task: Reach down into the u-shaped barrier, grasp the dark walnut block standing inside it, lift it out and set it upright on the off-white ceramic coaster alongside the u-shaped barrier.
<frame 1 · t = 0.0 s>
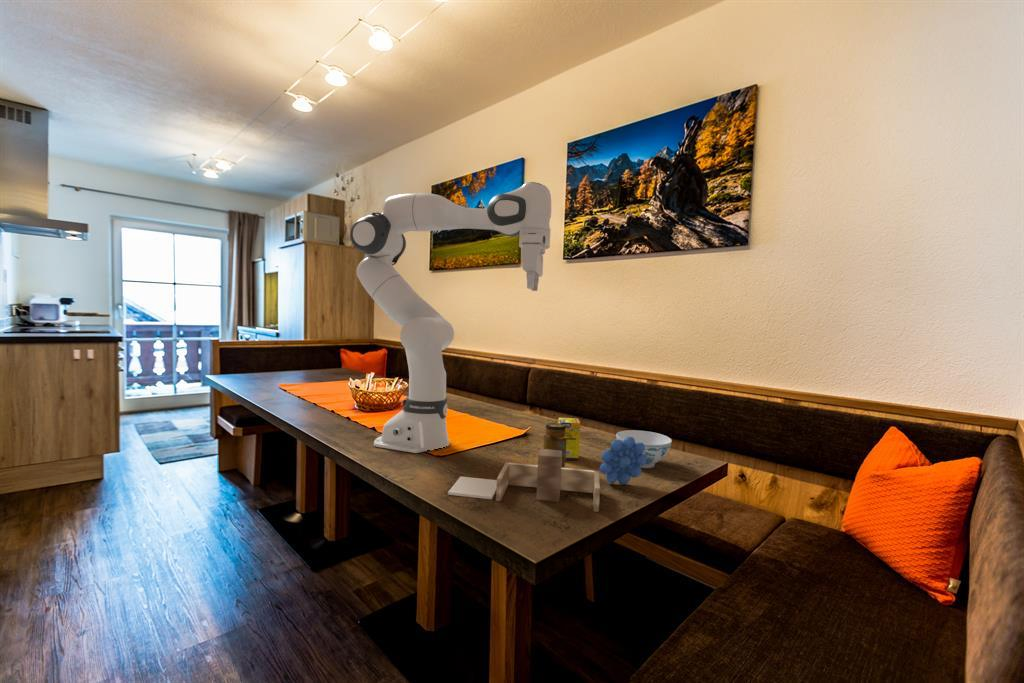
hand: (532, 289, 130), 48 cm above the table, fingers open, 8 cm apart
condiment: (554, 470, 120), on the table
u-shaped barrier: (548, 496, 102), on the table
coaster: (475, 488, 105), on the table
walnut block: (549, 474, 102), in the u-shaped barrier
chinaware: (642, 464, 128), on the table
supplement box: (567, 457, 131), on the table
grapes: (621, 483, 112), on the table
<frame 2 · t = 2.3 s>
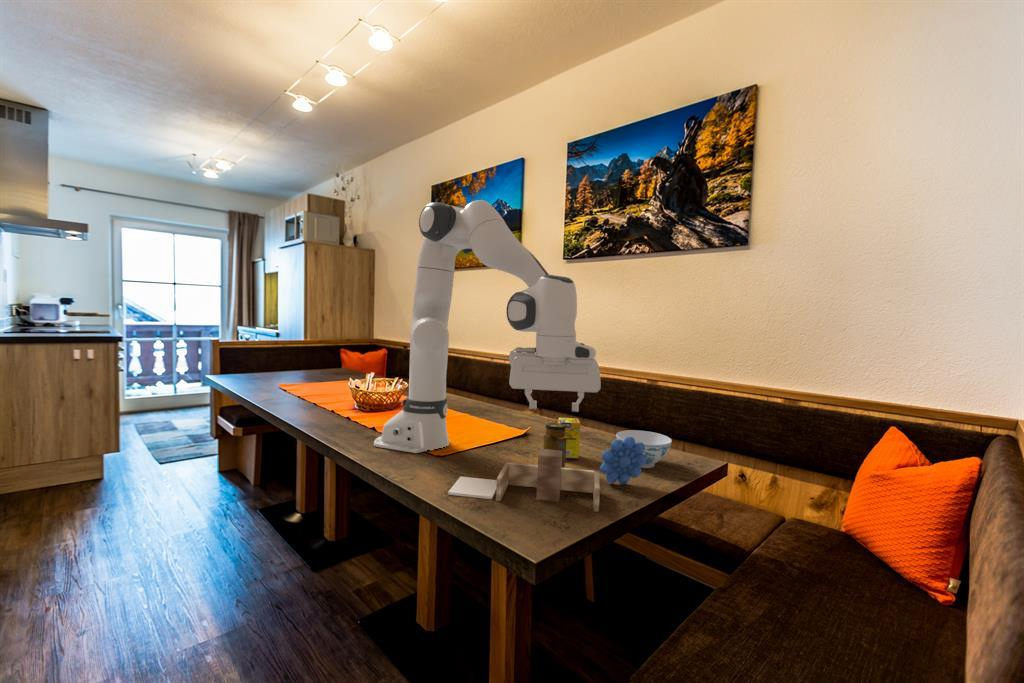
hand: (553, 410, 101), 20 cm above the table, fingers open, 8 cm apart
nothing on the table moved.
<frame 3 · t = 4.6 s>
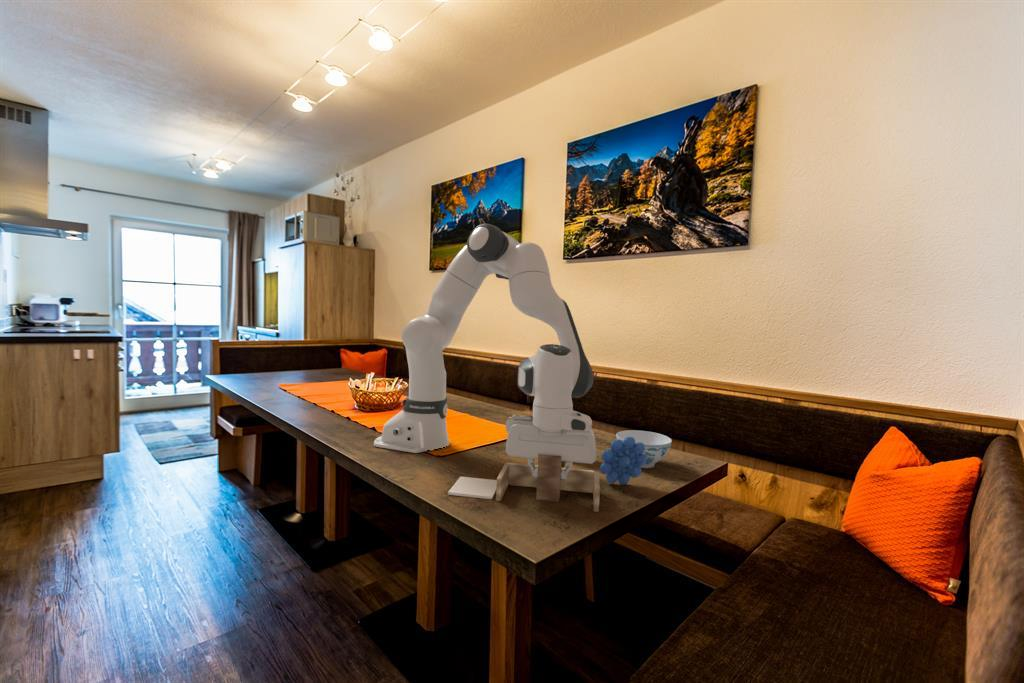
hand: (549, 478, 102), 4 cm above the table, fingers closed on walnut block, 5 cm apart
walnut block: (549, 474, 102), in the u-shaped barrier, touching gripper
everything else where it was.
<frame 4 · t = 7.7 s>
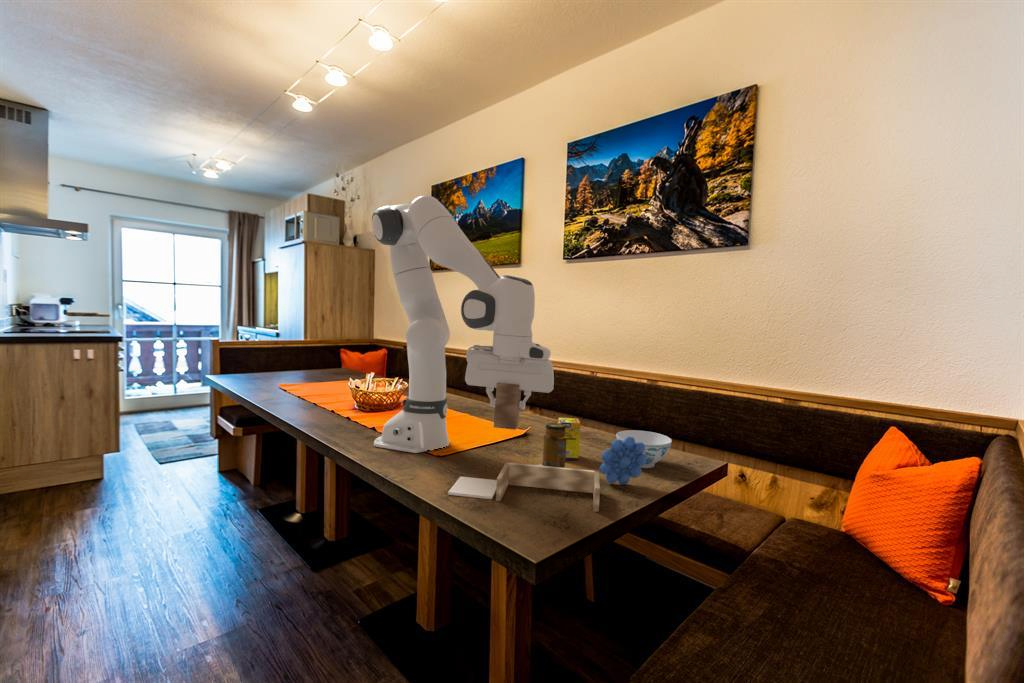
hand: (507, 408, 103), 19 cm above the table, fingers closed on walnut block, 5 cm apart
walnut block: (507, 404, 103), point 20 cm above the table, touching gripper
everything else where it was.
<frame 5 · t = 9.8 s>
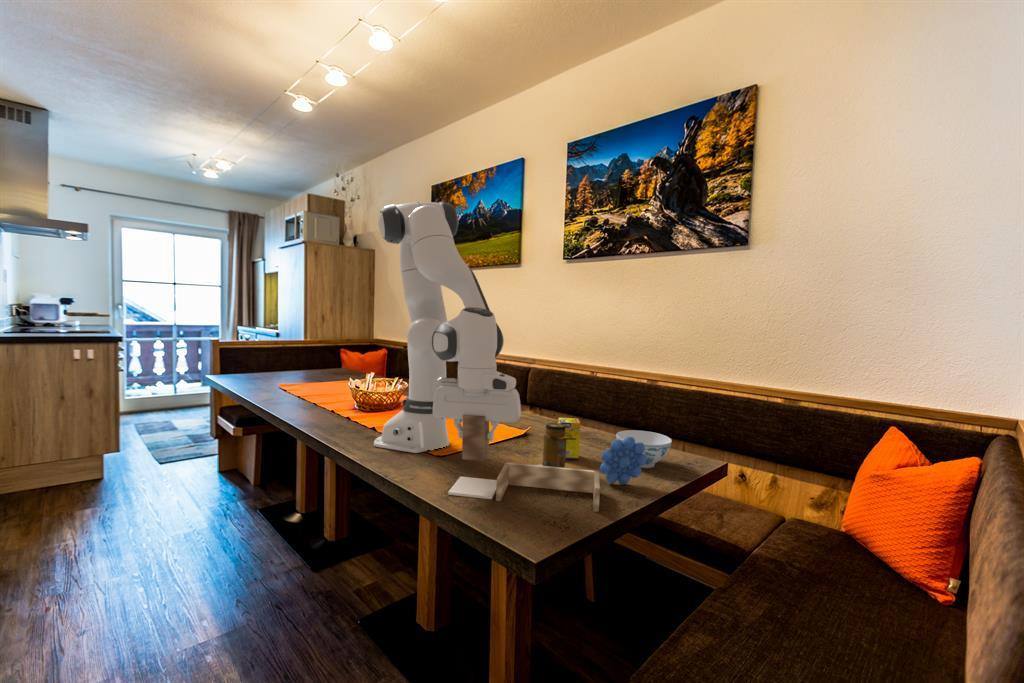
hand: (476, 438, 104), 12 cm above the table, fingers closed on walnut block, 5 cm apart
walnut block: (476, 435, 104), point 13 cm above the table, touching gripper
everything else where it was.
when the fingers open (6 cm above the table, at t = 11.3 s): walnut block drops 1 cm, resting on coaster.
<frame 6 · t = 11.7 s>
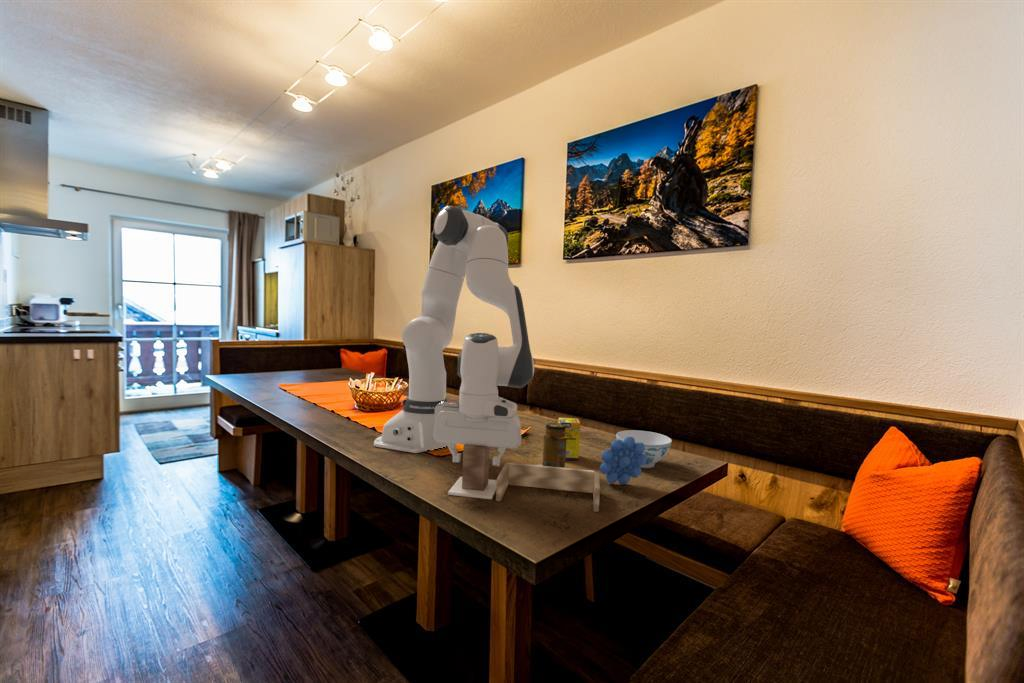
hand: (476, 463, 104), 6 cm above the table, fingers open, 8 cm apart
walnut block: (476, 464, 104), on the coaster, point 6 cm above the table
everything else where it was.
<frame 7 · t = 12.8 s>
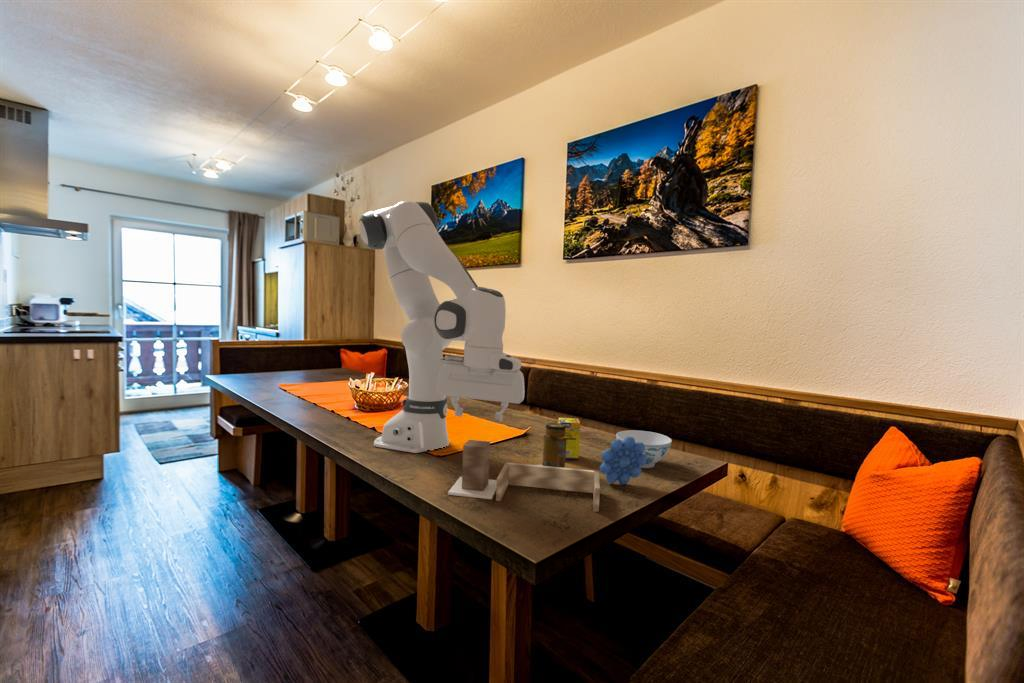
hand: (478, 418, 104), 16 cm above the table, fingers open, 8 cm apart
nothing on the table moved.
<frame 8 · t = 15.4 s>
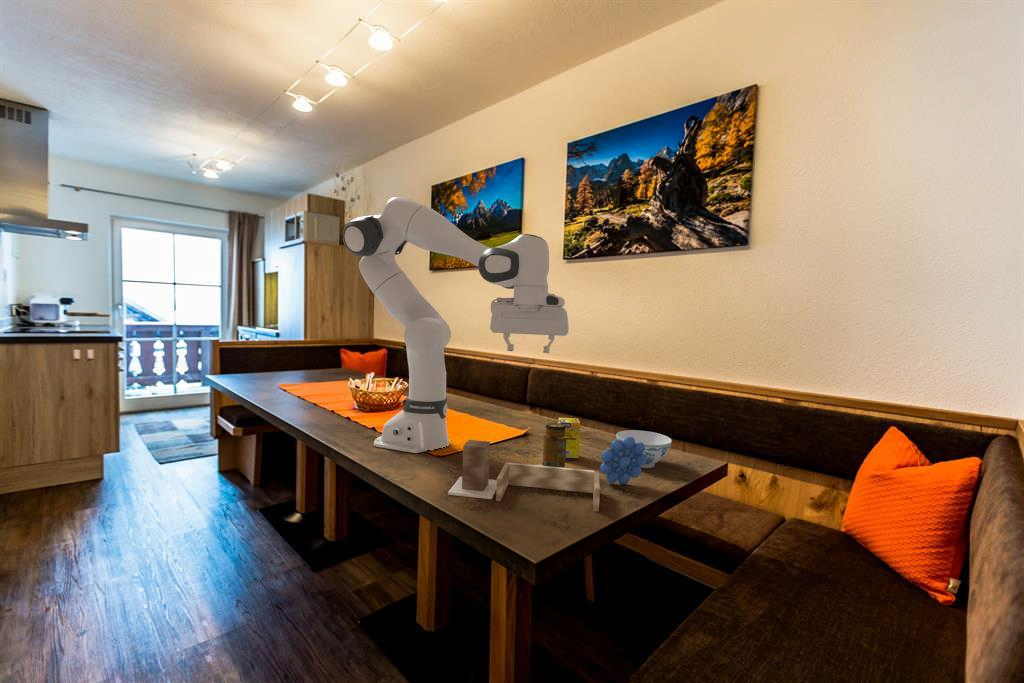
hand: (528, 352, 117), 31 cm above the table, fingers open, 8 cm apart
nothing on the table moved.
at the end: walnut block inside the target area on the coaster (0.0 cm from its centre), point 5.6 cm above the coaster's base; walnut block tilted 0°; the gripper is holding nothing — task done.
